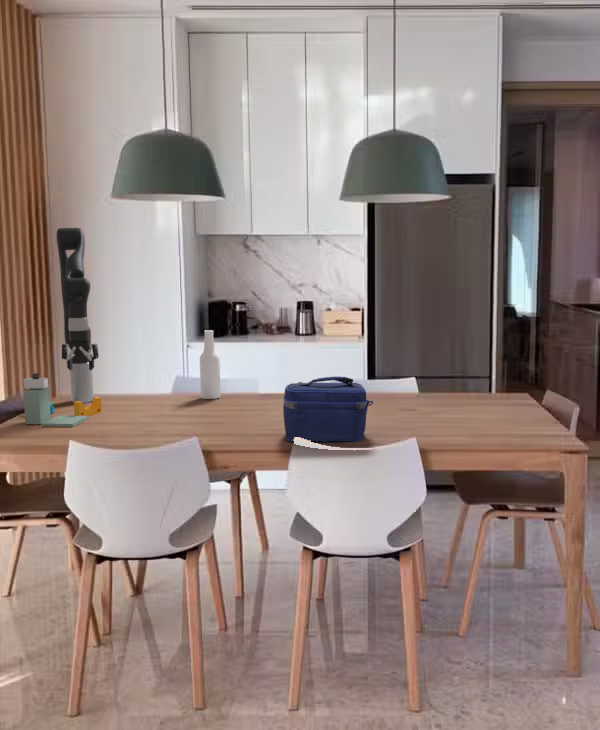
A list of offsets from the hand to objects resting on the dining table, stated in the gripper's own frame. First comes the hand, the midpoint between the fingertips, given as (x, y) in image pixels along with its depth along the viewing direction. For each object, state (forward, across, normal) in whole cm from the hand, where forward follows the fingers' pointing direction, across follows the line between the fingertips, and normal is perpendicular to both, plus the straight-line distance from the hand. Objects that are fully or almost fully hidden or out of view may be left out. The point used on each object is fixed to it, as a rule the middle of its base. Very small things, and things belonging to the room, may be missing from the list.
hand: (80, 369), depth 317 cm
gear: (+19, +17, -2) cm, 26 cm away
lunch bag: (+18, -100, +30) cm, 106 cm away
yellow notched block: (+19, -1, 0) cm, 19 cm away
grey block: (+5, +12, +15) cm, 19 cm away
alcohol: (+19, -42, -40) cm, 61 cm away
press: (+18, +5, +15) cm, 24 cm away
